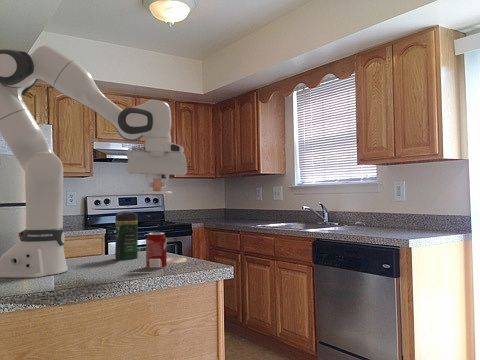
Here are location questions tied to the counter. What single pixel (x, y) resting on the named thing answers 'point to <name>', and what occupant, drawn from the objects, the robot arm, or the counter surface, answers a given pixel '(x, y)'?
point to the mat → (176, 260)
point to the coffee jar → (126, 236)
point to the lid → (156, 187)
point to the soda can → (156, 250)
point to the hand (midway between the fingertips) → (157, 187)
